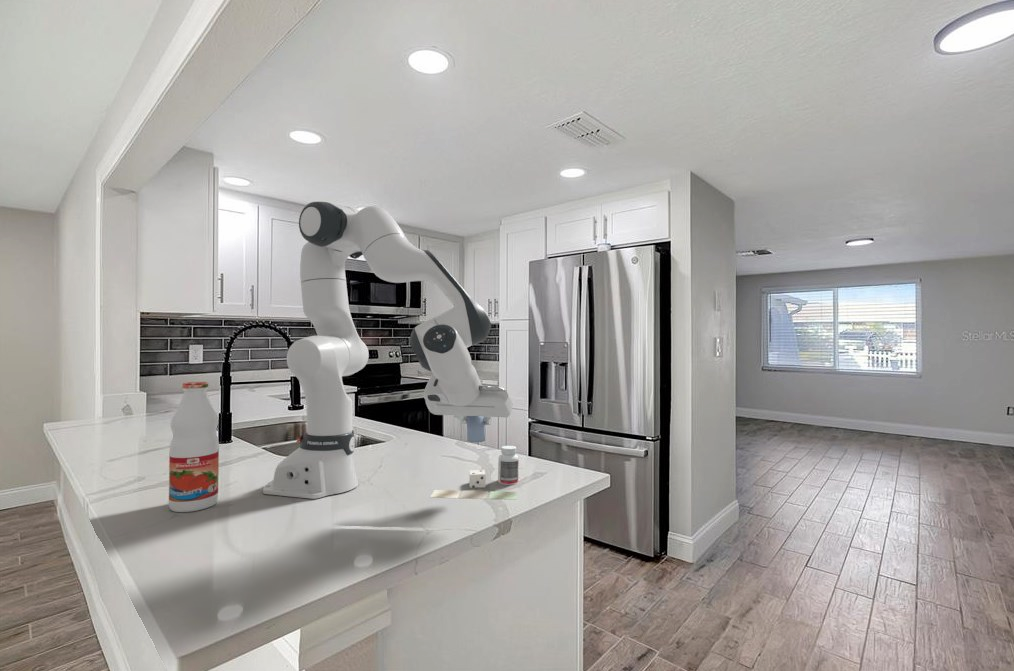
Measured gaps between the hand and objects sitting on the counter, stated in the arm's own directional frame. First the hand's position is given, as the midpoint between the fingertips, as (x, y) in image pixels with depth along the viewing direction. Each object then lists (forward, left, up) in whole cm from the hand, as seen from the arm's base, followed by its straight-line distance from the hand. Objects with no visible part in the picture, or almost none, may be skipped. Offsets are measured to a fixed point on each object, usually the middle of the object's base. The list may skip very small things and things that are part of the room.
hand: (477, 422), depth 116 cm
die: (0, +7, -18) cm, 20 cm away
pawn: (0, -1, -4) cm, 4 cm away
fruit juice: (-63, -10, -19) cm, 67 cm away
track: (0, 0, -18) cm, 18 cm away
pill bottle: (+8, +11, -19) cm, 23 cm away
